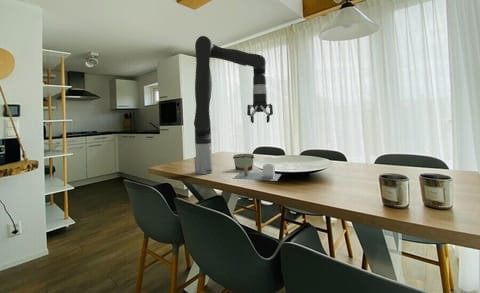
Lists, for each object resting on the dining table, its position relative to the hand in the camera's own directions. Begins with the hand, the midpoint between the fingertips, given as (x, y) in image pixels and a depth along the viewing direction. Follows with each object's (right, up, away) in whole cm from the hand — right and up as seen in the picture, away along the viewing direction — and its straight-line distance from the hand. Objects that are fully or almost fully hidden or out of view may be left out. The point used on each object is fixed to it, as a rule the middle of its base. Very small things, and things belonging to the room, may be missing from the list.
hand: (260, 122), depth 134 cm
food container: (-9, -28, +6) cm, 30 cm away
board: (-3, -30, -14) cm, 33 cm away
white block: (+3, -28, -16) cm, 33 cm away
